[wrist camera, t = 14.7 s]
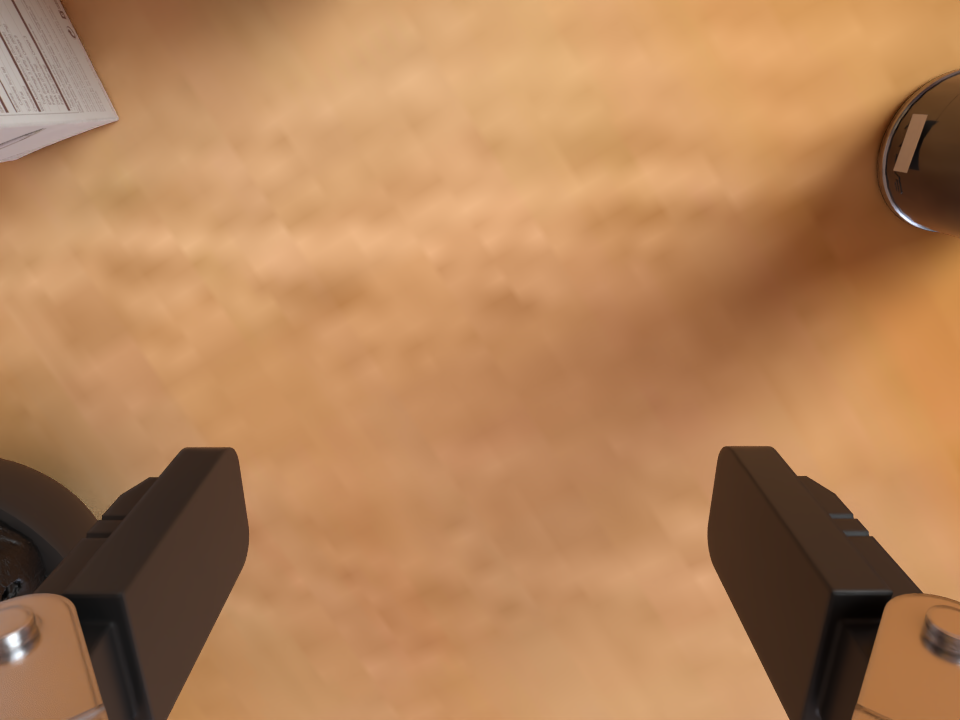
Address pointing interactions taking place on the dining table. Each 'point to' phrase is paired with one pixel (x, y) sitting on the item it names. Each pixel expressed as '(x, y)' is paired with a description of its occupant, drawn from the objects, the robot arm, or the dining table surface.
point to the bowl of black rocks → (35, 527)
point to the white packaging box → (45, 79)
